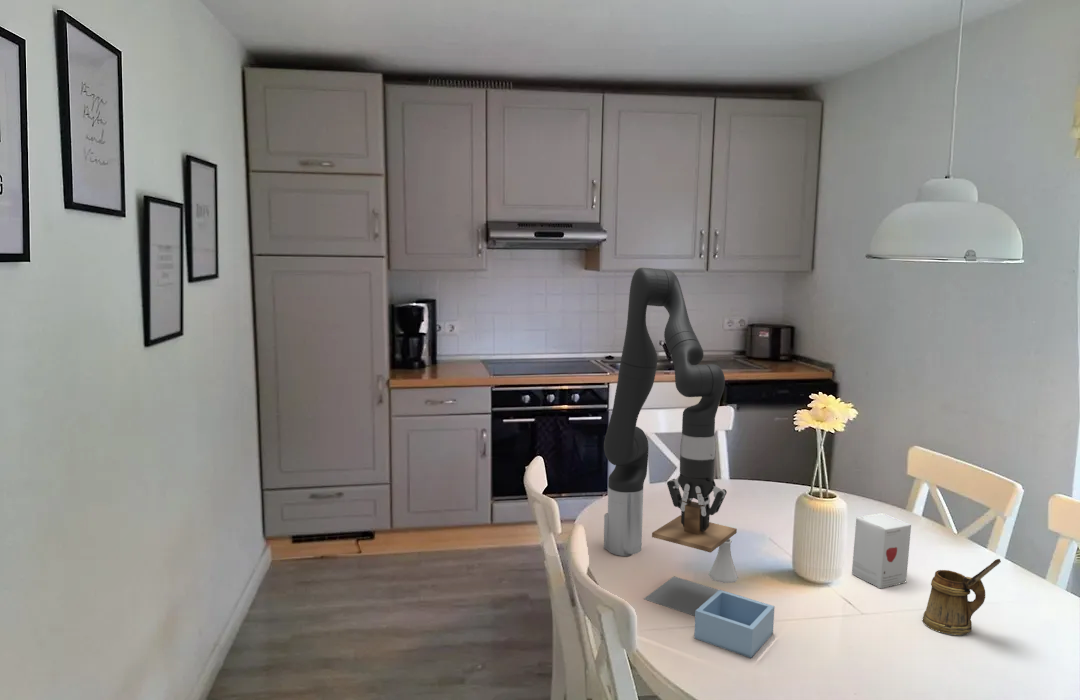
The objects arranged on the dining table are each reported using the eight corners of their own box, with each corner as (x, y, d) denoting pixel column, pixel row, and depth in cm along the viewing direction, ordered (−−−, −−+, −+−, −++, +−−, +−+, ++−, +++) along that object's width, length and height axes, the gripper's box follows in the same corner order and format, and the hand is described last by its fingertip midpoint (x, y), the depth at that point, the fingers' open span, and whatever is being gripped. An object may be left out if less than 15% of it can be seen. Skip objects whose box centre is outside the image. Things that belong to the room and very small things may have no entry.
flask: (739, 587, 172) (741, 546, 171) (708, 583, 174) (710, 544, 172) (737, 574, 179) (739, 535, 178) (707, 571, 181) (709, 532, 179)
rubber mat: (643, 601, 164) (643, 598, 164) (673, 578, 176) (673, 576, 176) (705, 622, 155) (705, 619, 155) (732, 596, 167) (732, 594, 167)
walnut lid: (651, 537, 161) (652, 506, 160) (680, 519, 172) (681, 490, 171) (710, 552, 153) (712, 520, 152) (736, 532, 164) (737, 503, 163)
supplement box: (880, 589, 171) (885, 529, 170) (850, 574, 180) (854, 516, 178) (907, 583, 175) (912, 523, 173) (877, 568, 183) (881, 511, 181)
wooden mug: (984, 650, 145) (992, 565, 143) (915, 623, 156) (921, 543, 153) (1001, 636, 151) (1009, 554, 148) (933, 611, 161) (940, 533, 159)
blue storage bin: (694, 640, 148) (695, 610, 147) (718, 617, 157) (719, 589, 156) (751, 661, 141) (752, 629, 140) (772, 635, 150) (774, 606, 149)
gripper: (660, 452, 161) (658, 526, 164) (720, 463, 153) (717, 541, 155) (676, 445, 167) (673, 517, 170) (734, 455, 159) (731, 530, 161)
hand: (694, 528), depth 162 cm, fingers closed on walnut lid, 3 cm apart
